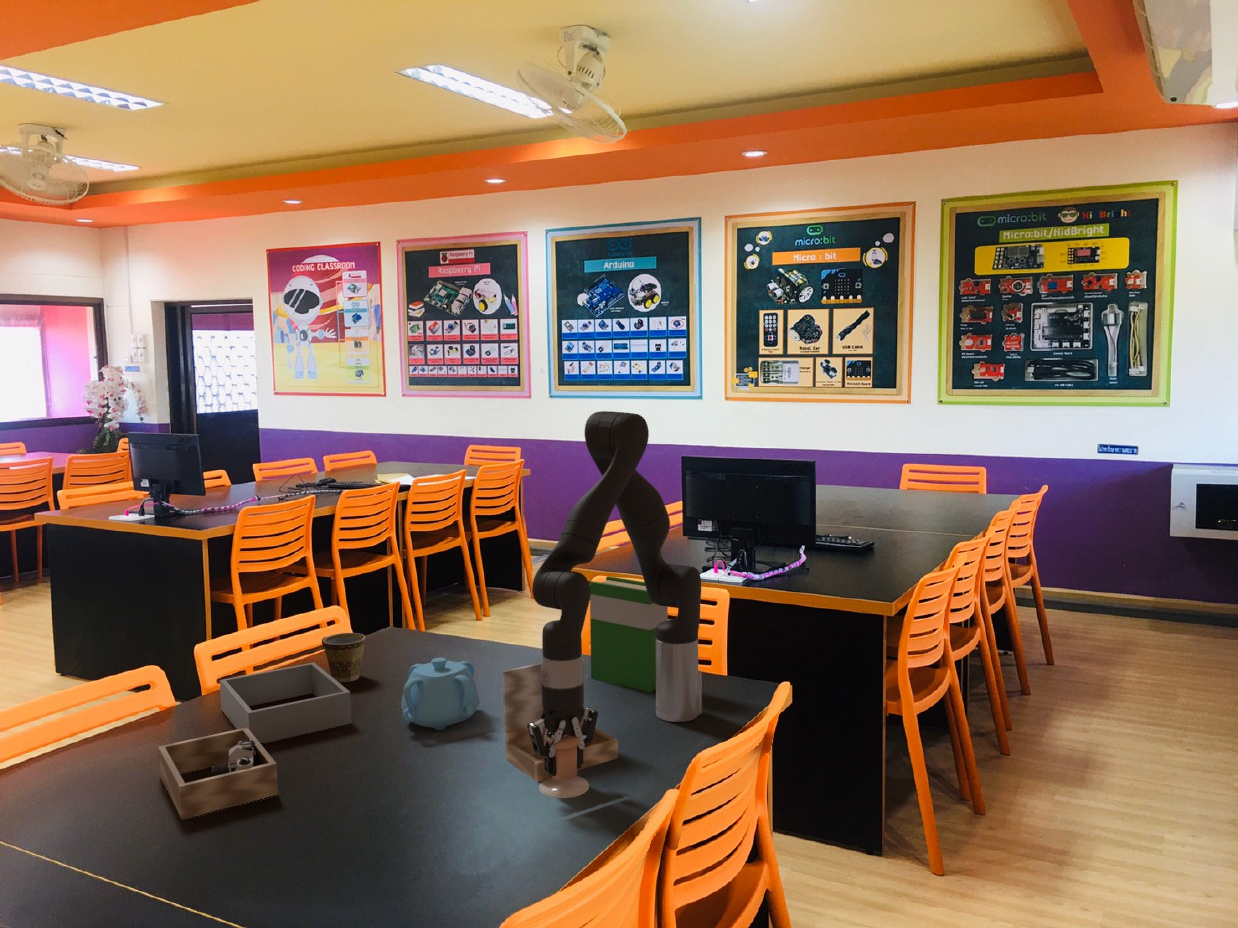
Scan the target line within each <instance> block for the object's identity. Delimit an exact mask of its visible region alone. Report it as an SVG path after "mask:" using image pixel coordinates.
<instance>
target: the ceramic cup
mask: <svg viewBox="0 0 1238 928" xmlns="http://www.w3.org/2000/svg"><path fill="white" fill-rule="evenodd" d="M321 644H322V647H323V649H324V653H325V655H326V659H327V663H328V669H329V672H330V676H331V677H333V678H334V679H335V680H336V681H337V682H339V683H350V682H354V681H357V680H358V679H359V678H360V673H361V664H362V659H363V658H362V657H363V654H364V650H365V645H366V636H365V634H363V633H357V632H343V633H335V634H331V635H328V636H324V637H322V639H321Z"/></svg>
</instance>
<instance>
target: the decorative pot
mask: <svg viewBox="0 0 1238 928" xmlns="http://www.w3.org/2000/svg"><path fill="white" fill-rule="evenodd" d="M474 675H475V668H474V665H473V664H472V663H471V662H469V661H466V660H462V661H460V662H459V661H458V662H457V661H453V660H448V659H447V658H445V657H435V658H433V659H431V662H428V663H424V664H423V663H415V664H413V665H411V667H409V669H408V680H407V681H406V683H405V684H404V686H403V689H402V692H403V693H402V698H401V704H400V705H401V706H400V707H401V712H402V718H403V719H404V720H405V721H408V722H410V723H412V724H416V725H418V726H422V727H425V728H433V730H435V731H443V730H446V729H447V726H451V725H455V724H459V723H461V722H465V721H468V719H469V718H470V717H472V716H473V715H474V714H475V712H476V711H477V709H478V707H479V703H480V697H479V692H478V691H479V690H478V687H477V685H476V682H475V680H474V677H475V676H474Z"/></svg>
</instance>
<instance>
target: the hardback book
mask: <svg viewBox="0 0 1238 928" xmlns="http://www.w3.org/2000/svg"><path fill="white" fill-rule="evenodd" d="M589 585H590V589H591V596H590V601H589V623H590V624H589V626H590V628H589V630H590V679H592V680H596V681H600V682H604V681H606V682H605V683H608V682H611V683H610V684H612V683H614V684H613V685H618V686H622V687H625V688H629V687H631V688H630V689H633V688H634V689H633V690H637V689H639V690H638V691H641V690H642V692H645V691H646V692H645V693H649V692H651V693H653V692H655V691H656V626H657V625H658V624H659V623H661V622H663V621H666V620H669V619H668V618H669V617H668V615H669V613H668V608H669V607H666V606H660V605H657V604H655V603H654V602H653V601H652V600H651V599H650V597H649V595H648V592H647V589H646V586H645V582H644V581H640V580H634V579H627V578H622V577H621V578H620V577H614V576H609V575H608V576H606V577H605V580H604V581H601V582H599V581H589ZM654 690H655V691H654ZM652 691H653V692H652Z"/></svg>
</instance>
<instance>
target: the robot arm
mask: <svg viewBox="0 0 1238 928" xmlns="http://www.w3.org/2000/svg"><path fill="white" fill-rule="evenodd" d="M584 425H585V426H584V441H585V446H586V448H587V450H588V453H589V455H590V457H591V460H592V461H593V462H594V464H595V466H596V467H597V469H598V471H599V472H600V474H601V477H600V478H599V480H597V482H596V483H595V484H594V485H593V486H592V487H590V489H589V490H588V491H587V492H586V493H585V494H583V495H582V496H581V497H580V498H579V499H578V501H577V502H576V503H575V505H573V507H572V509H571V511H570V512H569V514H568V516H567V518H566V521H565V524H564V526H563V529H562V531H561V533H560V537H559V540H558V542H557V543H556V545H554V547H553V549H551V551H550V553H549V554H548V556H547V557H545V559H544V561H543V562H542V564H541V565H540V567H539V569H538V570H537V572H536V573H535V576H534V577H533V581H532V587H531V592H532V597H533V600H534V602H536V604H538V605H539V606H540V607H543V608H549V609H554V610H558V611H559V610H560V611H561V613H560V617H559V619H556V620H551V621H549V622H547V623H545V624H544V626H543V628H542V635H541V641H542V642H541V643H542V647H541V648H542V661H541V663H542V667H541V678H542V706H543V714H542V716H541V719H540V720H538V721H537V722H535V723H532V722H529V723H528V724H527V728H528V732H529V735H530V739H531V743H532V746H533V750H534V752H536V753H538V754H539V755H540V756H542V757H543V756H544V770H545V772H546V773H547V774H548V775H550V776H551V777H553V776H556V757H555V756H554V755H555V752H556V749H554V746H555V745H556V744H557V743H559V742H560V740H561V737H563V736H565V735H573V736H575V737H577V738H578V737H580V744H579V746H577V769H580V768H581V765H583V748H584V746H585V745H586V744H587V743H591V742H592V741H593V737H594V732H595V728H596V726H597V721H598V718H599V717H598V716H599V712H598V711H597V710H596V709H594V708H592V707H586V708H585V707H584V708H583V703H584V704H585V681H584V680H585V675H584V674H585V672H584V673H583V661H582V654H583V643H582V640H583V639H582V634H583V628H584V624H585V621H586V616H587V612H588V609H589V606H590V596H591V589H590V581H589V580H588V578H587V577H586V576H585V575H584V574H583V573H582V572H579V571H574V570H573V569H574V567H576V566H579V565H584V564H585V565H586V564H588V563H591V562H592V560H594V559H595V556H596V553H597V550H598V548H599V545H600V542H601V540H602V537H603V535H604V531H605V528H606V526H607V524H608V521H609V519H610V516H611V514H612V512H613V510H614V508H615V507H616V509H617V511H618V514H619V516H620V519H621V522H622V524H623V526H624V529H625V531H626V533H627V535H628V537H629V541H630V543H631V545H632V547H633V549H634V552H635V555H636V558H637V561H638V564H639V566H640V567H639V569H640V571H641V575H642V579H643V582H645V586H646V589H647V592H648V595H649V597H650V599H651V600H652V601H653V602H654V603H655V604H657V605H660V606H666V607H668V608H675V609H677V616H676V617H674V618H671V619H668V620H666V621H663V622H661V623H659V624H658V625H657V626H656V690H655V714H656V715H655V716H656V717H657V718H659V719H660V720H663V721H666V722H671V723H672V722H673V723H683V722H684V723H685V722H689V721H693V720H695V719H696V718H697V717H698V716H699V715H702V713H703V672H702V671H701V670H699V629H700V624H701V623H700V621H701V601H702V599H701V598H702V577H701V574H700V571H699V569H697V567H695V566H690V565H683V564H673V563H668V562H666V561H665V560H664V558H663V555H662V553H661V551H662V548H663V546H664V543H665V541H666V539H667V537H668V536H669V535H668V534H669V533H670V529H671V528H670V526H671V520H670V516H669V512H668V510H667V508H666V505H665V502H664V500H663V497H662V496H661V493H660V492H659V491H658V489H657V488H655V486H654V485H653V484H652V483H650V482H649V481H648V480H647V479H646V478H645V477H644V476H643V475H642V474H641V473H639V471H638V470H636V469H637V468H638V466H639V463H640V462H641V460H642V458H643V456H644V453H645V452H646V449H647V446H648V442H649V435H650V433H649V426H648V423H647V421H646V419H645V418H644V416H642V415H640V414H638V413H633V412H623V411H622V412H621V411H608V410H607V411H606V410H605V411H603V410H602V411H595V412H593V413H591V414H590V415H589V416H588V418H587V420H586V422H585V424H584ZM572 570H573V571H572ZM583 676H584V677H583ZM582 718H583V719H584V720H583V725H582V730H581V729H580V726H579V724H580V722H581V720H582ZM543 726H545V727H546V732H545V735H544V739H545V742H543V738H542V735H541V734H542V733H543ZM552 735H553V736H554V737H552ZM548 742H550V747H549V746H548ZM580 770H581V769H580Z"/></svg>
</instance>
